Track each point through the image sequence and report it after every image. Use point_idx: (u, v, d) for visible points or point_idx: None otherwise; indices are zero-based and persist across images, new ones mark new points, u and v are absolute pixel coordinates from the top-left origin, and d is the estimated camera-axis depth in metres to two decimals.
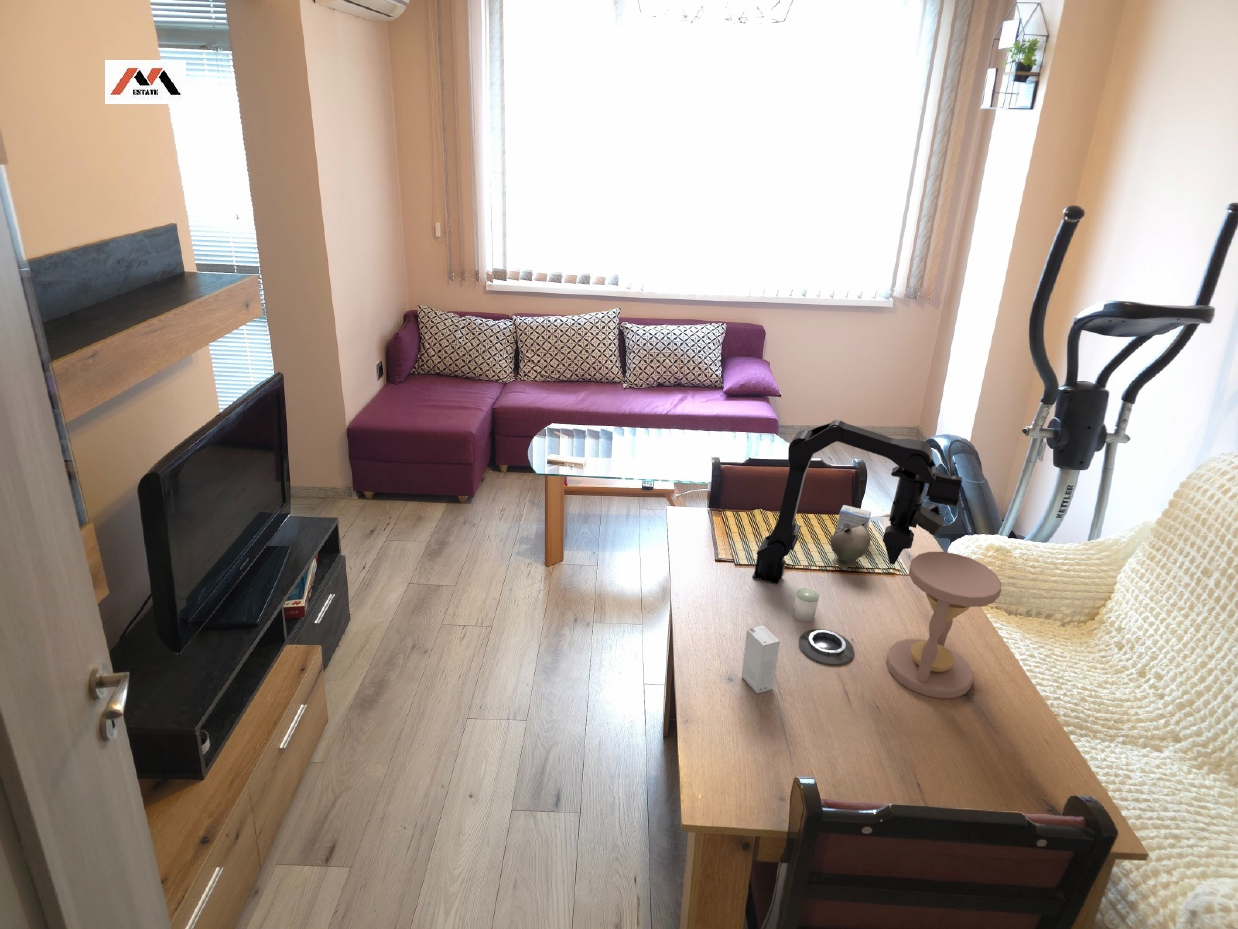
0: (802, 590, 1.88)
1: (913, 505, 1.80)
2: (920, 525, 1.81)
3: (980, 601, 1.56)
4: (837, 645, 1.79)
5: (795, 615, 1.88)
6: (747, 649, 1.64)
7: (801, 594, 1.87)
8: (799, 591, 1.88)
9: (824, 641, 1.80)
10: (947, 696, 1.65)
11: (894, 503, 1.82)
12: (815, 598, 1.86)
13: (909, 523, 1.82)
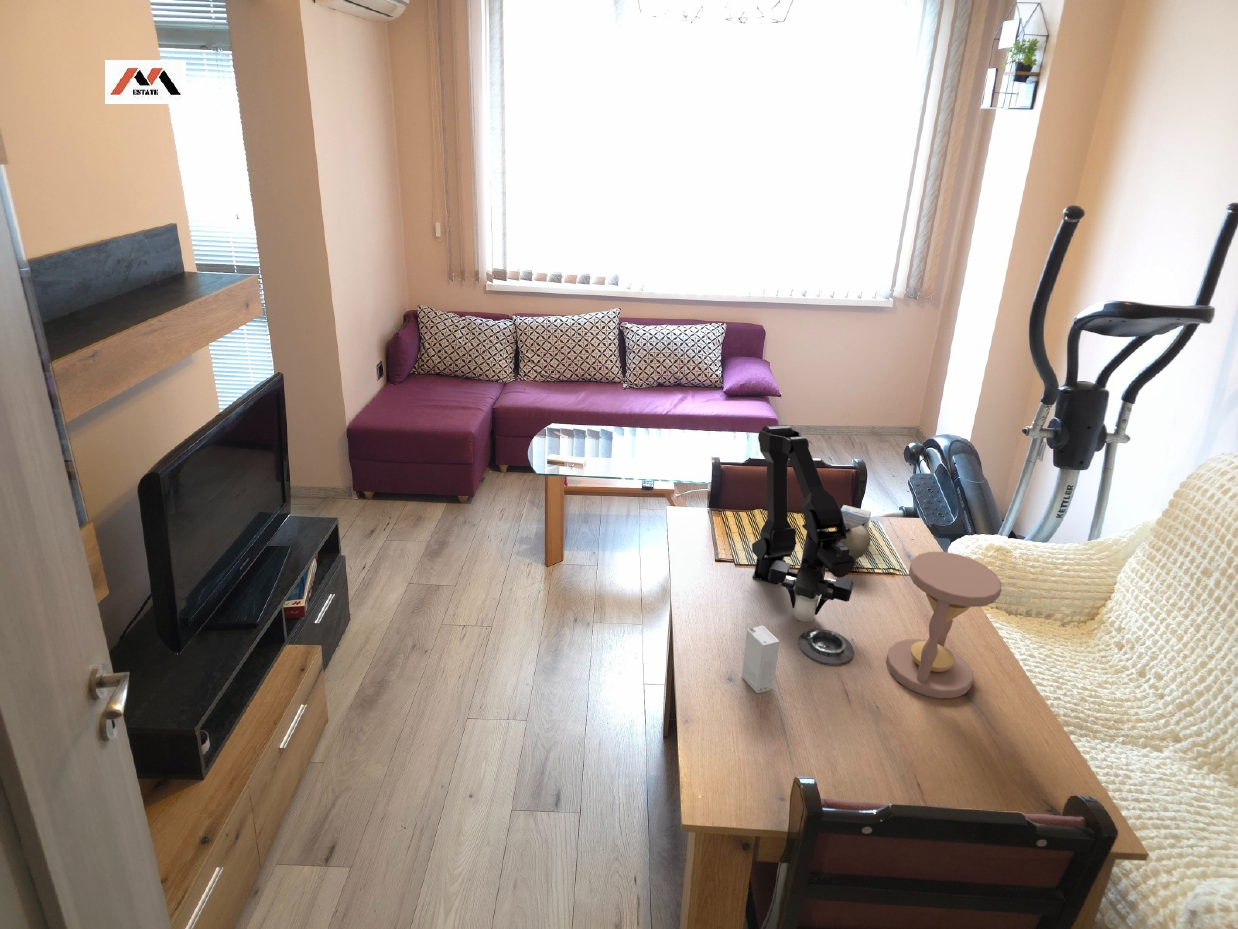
0: None
1: (803, 557, 1.82)
2: None
3: (980, 601, 1.56)
4: (837, 645, 1.79)
5: (795, 615, 1.88)
6: (747, 649, 1.64)
7: None
8: None
9: (824, 641, 1.80)
10: (947, 696, 1.65)
11: None
12: (815, 598, 1.86)
13: None
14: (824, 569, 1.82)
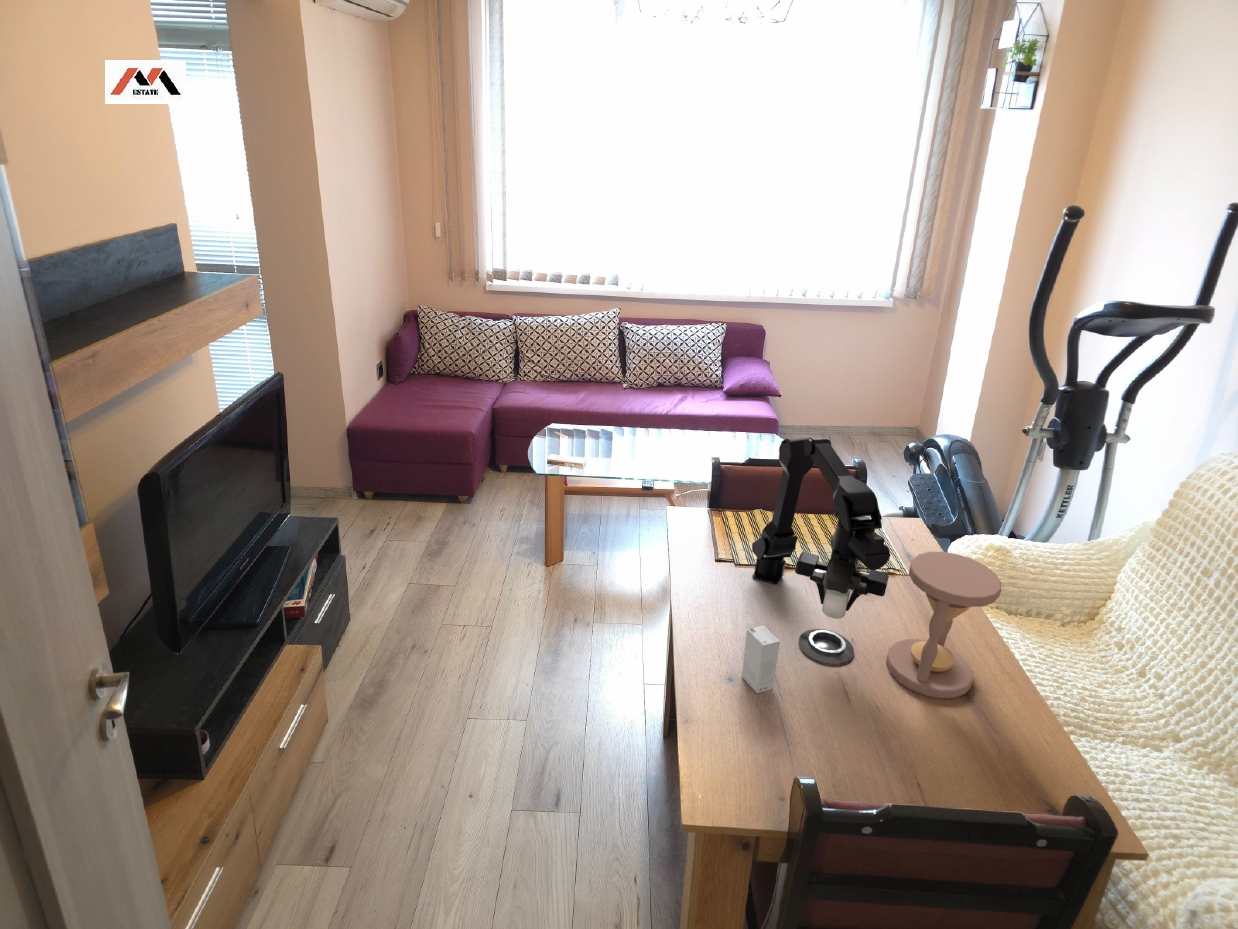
0: None
1: (833, 548, 1.68)
2: None
3: (980, 601, 1.56)
4: (837, 645, 1.79)
5: (824, 611, 1.74)
6: (747, 649, 1.64)
7: None
8: None
9: (824, 641, 1.80)
10: (947, 696, 1.65)
11: None
12: (846, 593, 1.71)
13: None
14: (857, 561, 1.67)
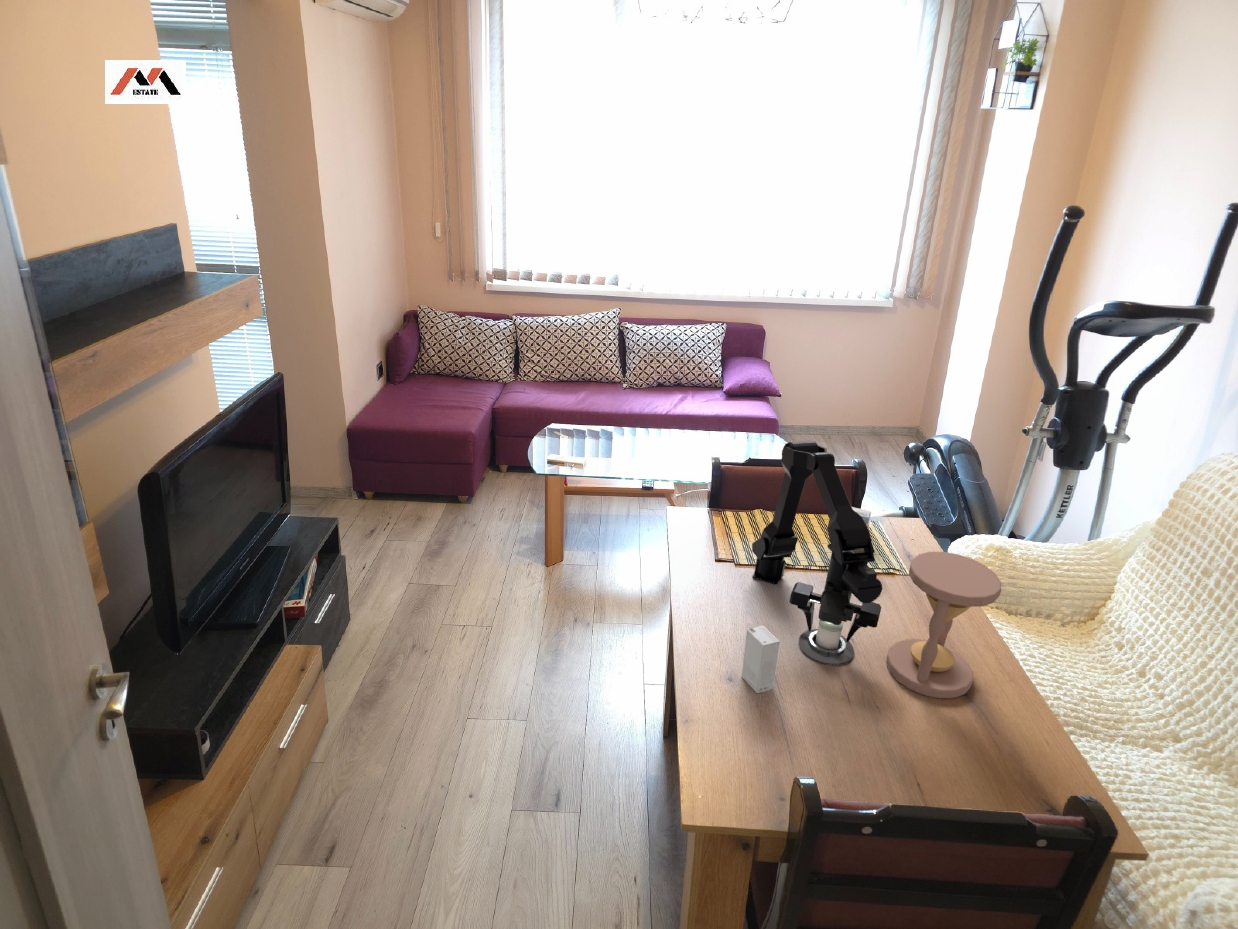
0: None
1: (827, 580, 1.71)
2: None
3: (980, 601, 1.56)
4: None
5: (817, 645, 1.77)
6: (747, 649, 1.64)
7: (824, 623, 1.76)
8: None
9: None
10: (947, 696, 1.65)
11: None
12: (839, 628, 1.75)
13: None
14: (850, 593, 1.70)
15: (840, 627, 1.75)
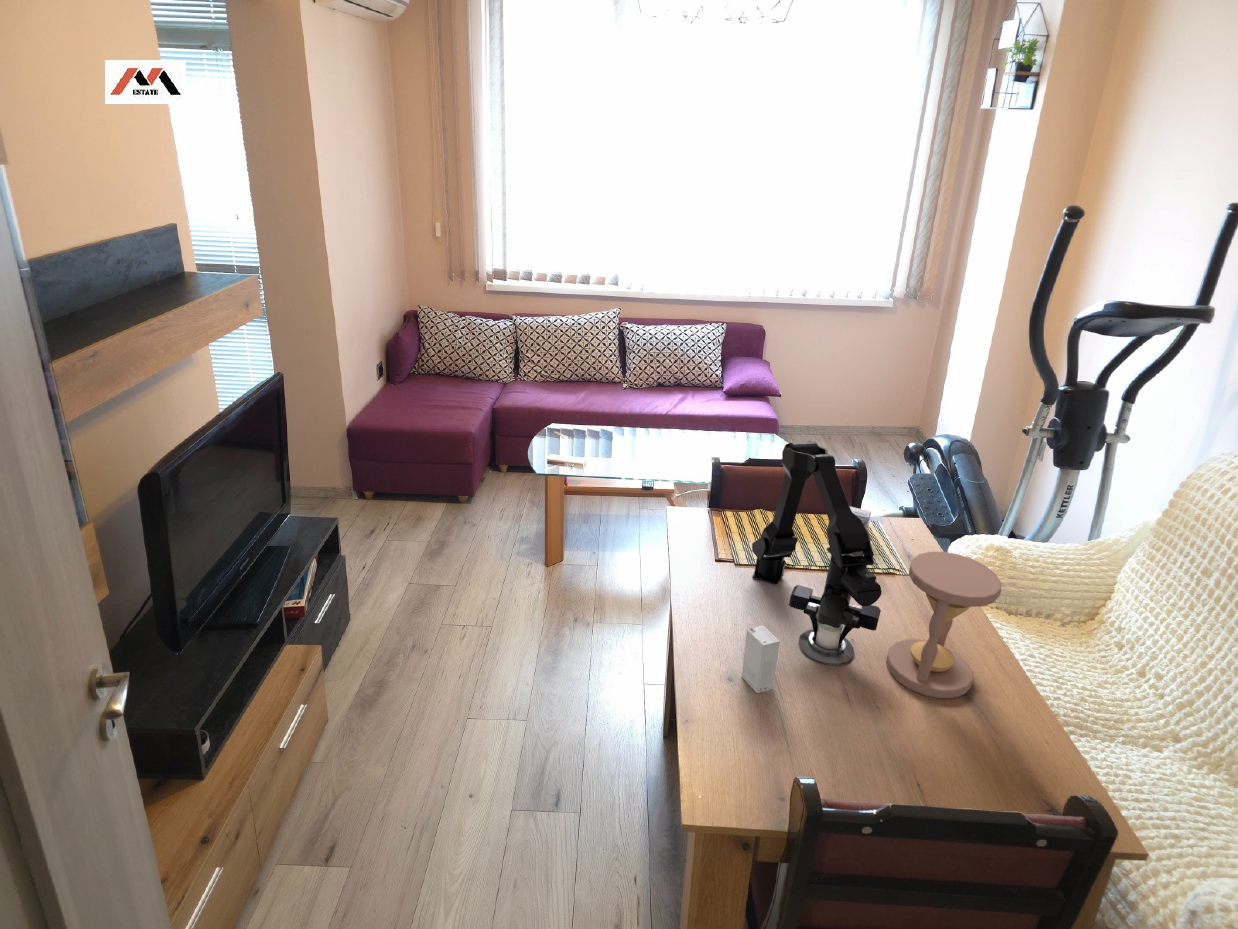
0: None
1: (827, 583, 1.71)
2: None
3: (980, 601, 1.56)
4: None
5: (817, 645, 1.77)
6: (747, 649, 1.64)
7: None
8: None
9: None
10: (947, 696, 1.65)
11: None
12: (839, 628, 1.75)
13: None
14: (849, 596, 1.71)
15: (840, 627, 1.75)
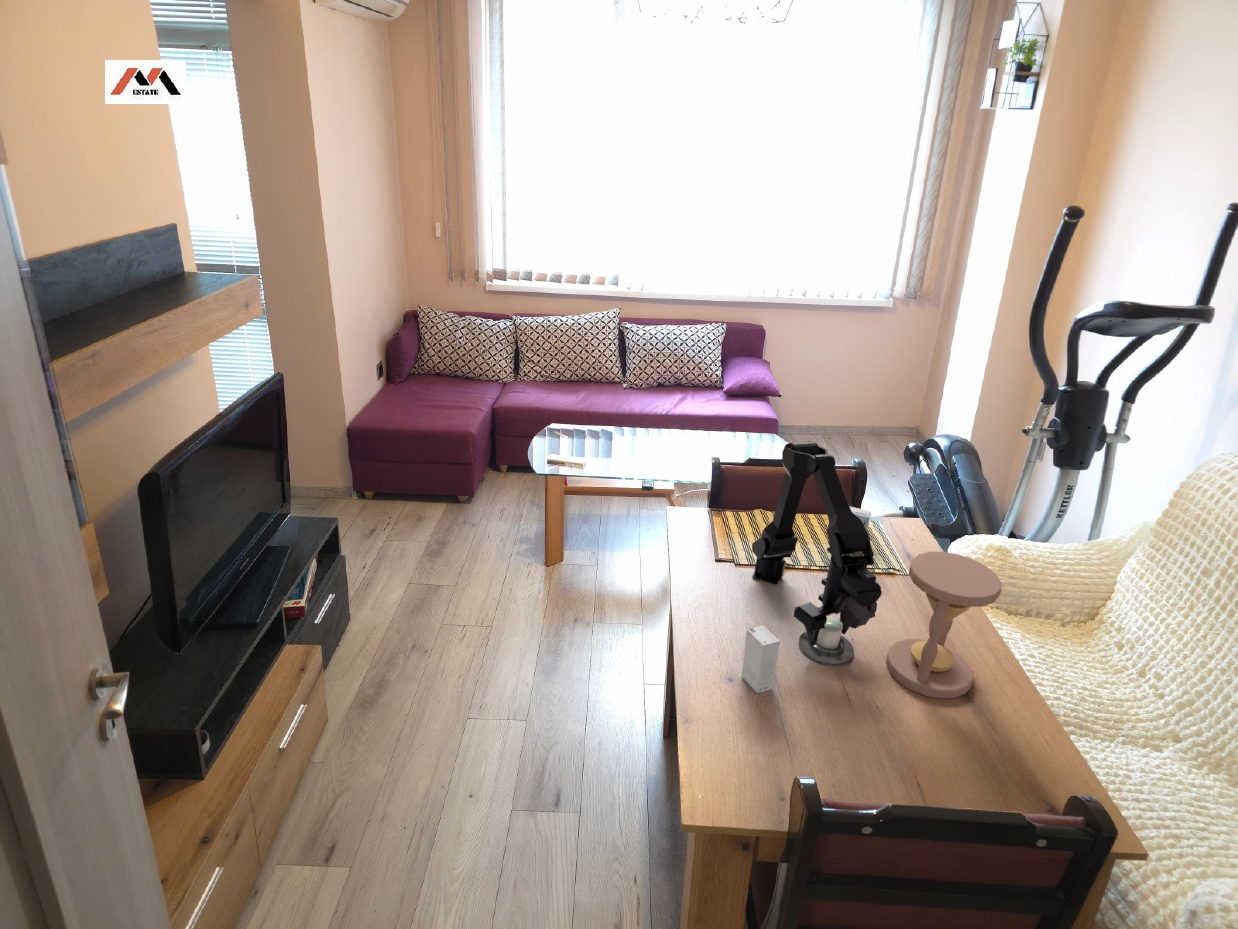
0: None
1: (836, 589, 1.69)
2: (841, 613, 1.69)
3: (980, 601, 1.56)
4: None
5: None
6: (747, 649, 1.64)
7: (829, 627, 1.75)
8: (824, 625, 1.75)
9: None
10: (947, 696, 1.65)
11: (822, 582, 1.73)
12: (840, 622, 1.76)
13: (833, 607, 1.71)
14: None
15: (839, 621, 1.77)
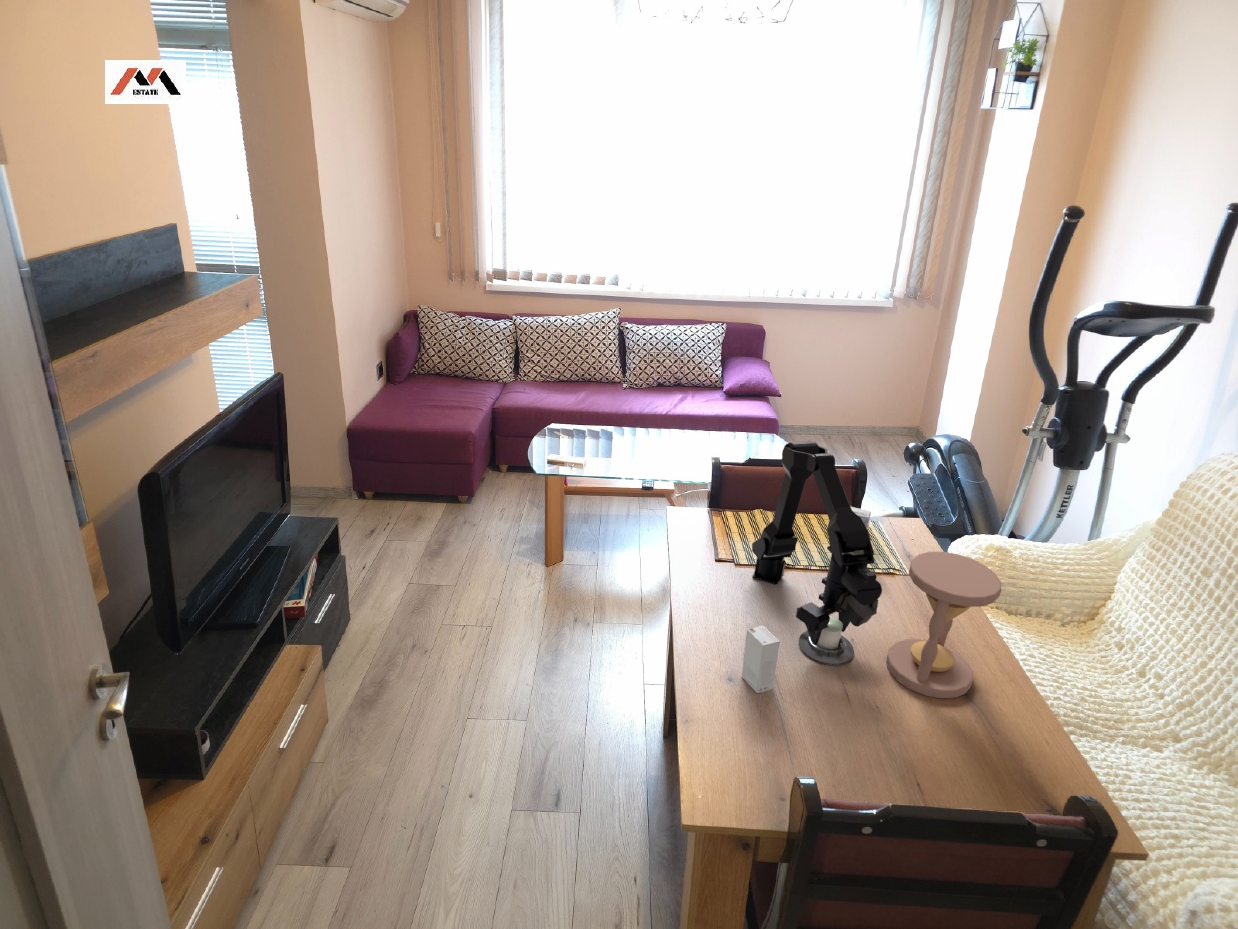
0: (828, 627, 1.75)
1: (838, 588, 1.69)
2: (843, 611, 1.69)
3: (980, 601, 1.56)
4: None
5: (836, 648, 1.77)
6: (747, 649, 1.64)
7: (836, 627, 1.75)
8: (832, 628, 1.74)
9: None
10: (947, 696, 1.65)
11: (823, 581, 1.72)
12: (832, 618, 1.78)
13: (834, 606, 1.71)
14: None
15: (830, 617, 1.78)
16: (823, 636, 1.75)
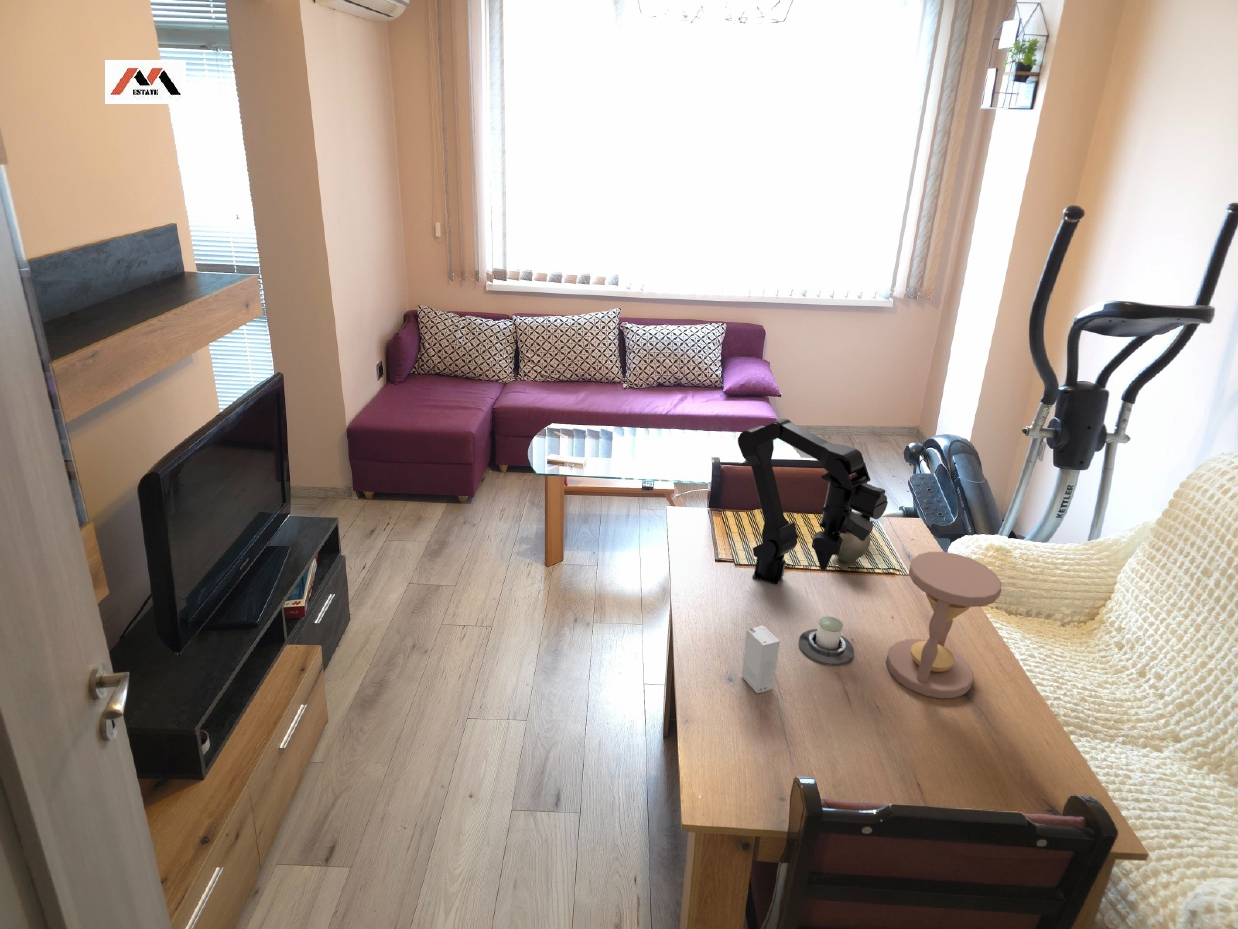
0: (828, 627, 1.75)
1: (842, 511, 1.81)
2: (849, 531, 1.82)
3: (980, 601, 1.56)
4: None
5: (836, 648, 1.77)
6: (747, 649, 1.64)
7: (836, 627, 1.75)
8: (832, 628, 1.74)
9: None
10: (947, 696, 1.65)
11: (824, 509, 1.83)
12: (832, 618, 1.78)
13: (839, 529, 1.83)
14: None
15: (830, 617, 1.78)
16: (823, 636, 1.75)
